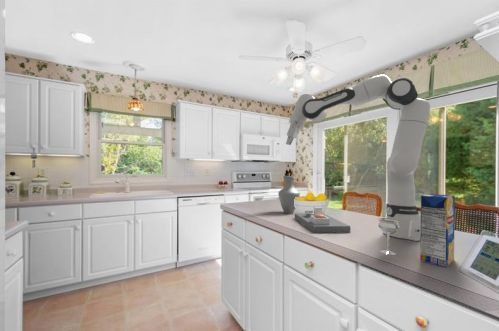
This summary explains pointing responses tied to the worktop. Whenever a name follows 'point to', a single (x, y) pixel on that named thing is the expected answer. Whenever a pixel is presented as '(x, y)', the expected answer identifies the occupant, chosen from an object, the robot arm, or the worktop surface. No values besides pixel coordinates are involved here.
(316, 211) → the paddle
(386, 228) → the wineglass
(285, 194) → the vase
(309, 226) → the panel
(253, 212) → the worktop surface
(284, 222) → the worktop surface
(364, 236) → the worktop surface
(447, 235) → the beverage box
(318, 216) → the push button
